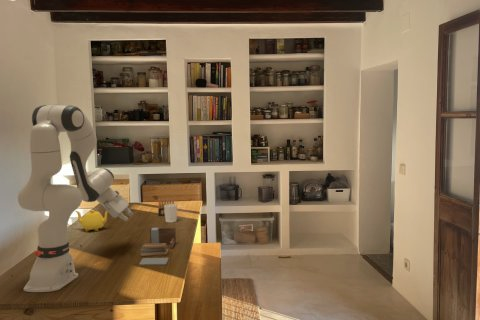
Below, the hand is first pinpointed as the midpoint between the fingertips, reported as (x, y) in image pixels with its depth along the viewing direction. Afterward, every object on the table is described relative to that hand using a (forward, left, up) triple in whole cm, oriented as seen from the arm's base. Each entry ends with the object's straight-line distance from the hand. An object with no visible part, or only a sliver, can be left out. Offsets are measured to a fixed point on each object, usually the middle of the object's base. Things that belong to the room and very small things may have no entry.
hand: (129, 217), depth 215 cm
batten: (0, -12, -16) cm, 20 cm away
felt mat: (-20, -15, -16) cm, 30 cm away
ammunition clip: (+69, -7, -16) cm, 71 cm away
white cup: (+54, -12, -16) cm, 58 cm away
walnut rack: (+4, -15, -16) cm, 22 cm away
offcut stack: (-9, -13, -16) cm, 22 cm away
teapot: (+39, +31, -16) cm, 52 cm away
